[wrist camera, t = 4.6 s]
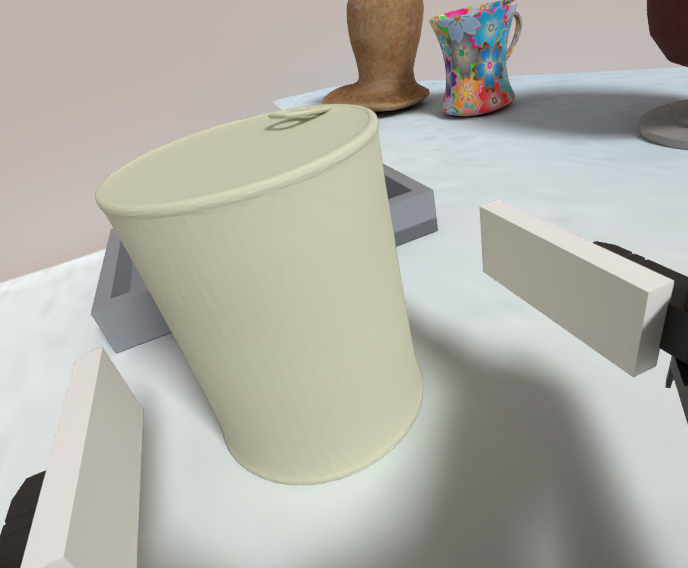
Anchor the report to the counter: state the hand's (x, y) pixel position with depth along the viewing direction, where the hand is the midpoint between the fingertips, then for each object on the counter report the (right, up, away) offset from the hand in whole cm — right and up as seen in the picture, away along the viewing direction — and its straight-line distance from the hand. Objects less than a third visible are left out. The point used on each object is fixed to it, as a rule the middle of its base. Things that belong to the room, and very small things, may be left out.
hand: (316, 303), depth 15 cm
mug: (+18, +22, +40) cm, 49 cm away
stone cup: (+7, +27, +51) cm, 58 cm away
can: (0, -4, +6) cm, 7 cm away
